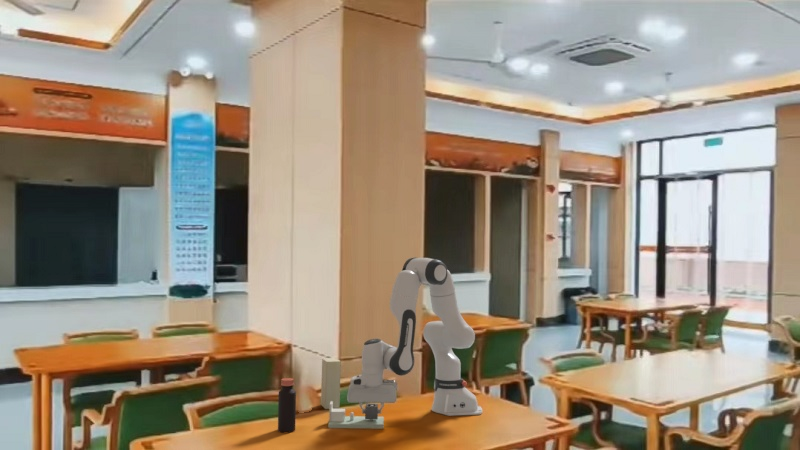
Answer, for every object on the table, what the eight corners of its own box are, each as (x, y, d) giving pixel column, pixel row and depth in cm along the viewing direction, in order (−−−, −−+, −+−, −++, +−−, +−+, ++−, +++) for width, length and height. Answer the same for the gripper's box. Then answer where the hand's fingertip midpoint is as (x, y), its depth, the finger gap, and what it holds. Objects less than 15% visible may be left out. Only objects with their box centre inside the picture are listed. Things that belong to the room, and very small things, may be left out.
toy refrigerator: (341, 408, 295) (342, 360, 296) (325, 409, 293) (326, 361, 293) (336, 403, 303) (337, 357, 303) (320, 405, 300) (321, 358, 300)
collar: (377, 416, 273) (378, 403, 273) (377, 419, 268) (377, 406, 268) (365, 415, 273) (365, 403, 273) (365, 419, 268) (365, 406, 268)
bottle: (276, 428, 262) (277, 378, 263) (293, 427, 265) (294, 377, 265) (279, 433, 256) (280, 381, 256) (296, 432, 259) (297, 380, 259)
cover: (345, 418, 273) (345, 401, 273) (344, 421, 268) (344, 404, 268) (330, 418, 273) (330, 401, 273) (329, 421, 268) (329, 404, 268)
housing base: (383, 420, 277) (384, 402, 277) (383, 428, 265) (383, 409, 265) (331, 419, 277) (331, 401, 277) (328, 427, 265) (328, 409, 265)
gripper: (397, 378, 274) (396, 411, 274) (348, 377, 274) (347, 411, 274) (397, 381, 268) (397, 415, 268) (347, 380, 268) (346, 415, 267)
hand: (371, 413), depth 271 cm, fingers closed on collar, 5 cm apart
